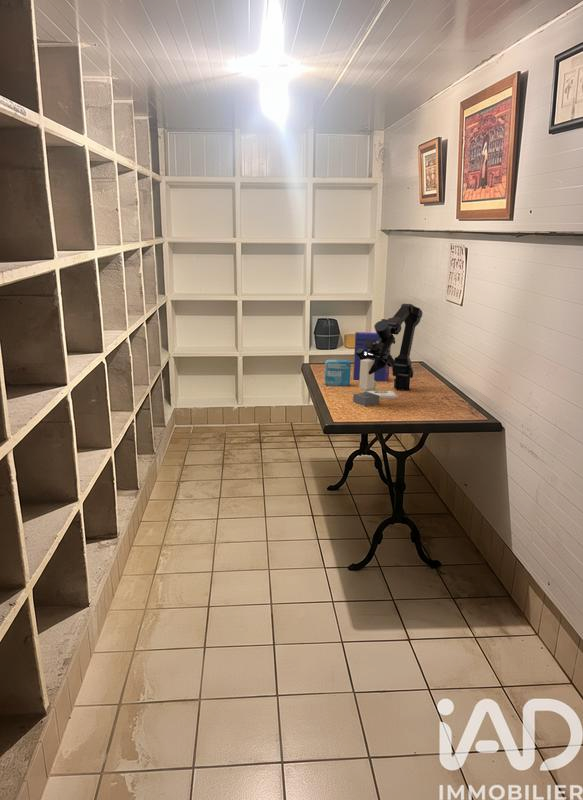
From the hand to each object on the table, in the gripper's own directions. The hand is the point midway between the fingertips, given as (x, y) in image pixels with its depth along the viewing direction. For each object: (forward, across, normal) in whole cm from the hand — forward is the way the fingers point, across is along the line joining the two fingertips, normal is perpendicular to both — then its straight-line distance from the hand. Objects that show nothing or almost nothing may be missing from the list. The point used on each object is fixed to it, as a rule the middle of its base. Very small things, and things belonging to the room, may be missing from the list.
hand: (365, 372), depth 259 cm
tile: (-2, -4, +21) cm, 22 cm away
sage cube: (-4, -14, +23) cm, 27 cm away
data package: (-1, -31, +21) cm, 38 cm away
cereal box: (-16, -28, +36) cm, 49 cm away
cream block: (+4, 0, +6) cm, 7 cm away
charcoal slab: (+9, 0, +11) cm, 14 cm away
